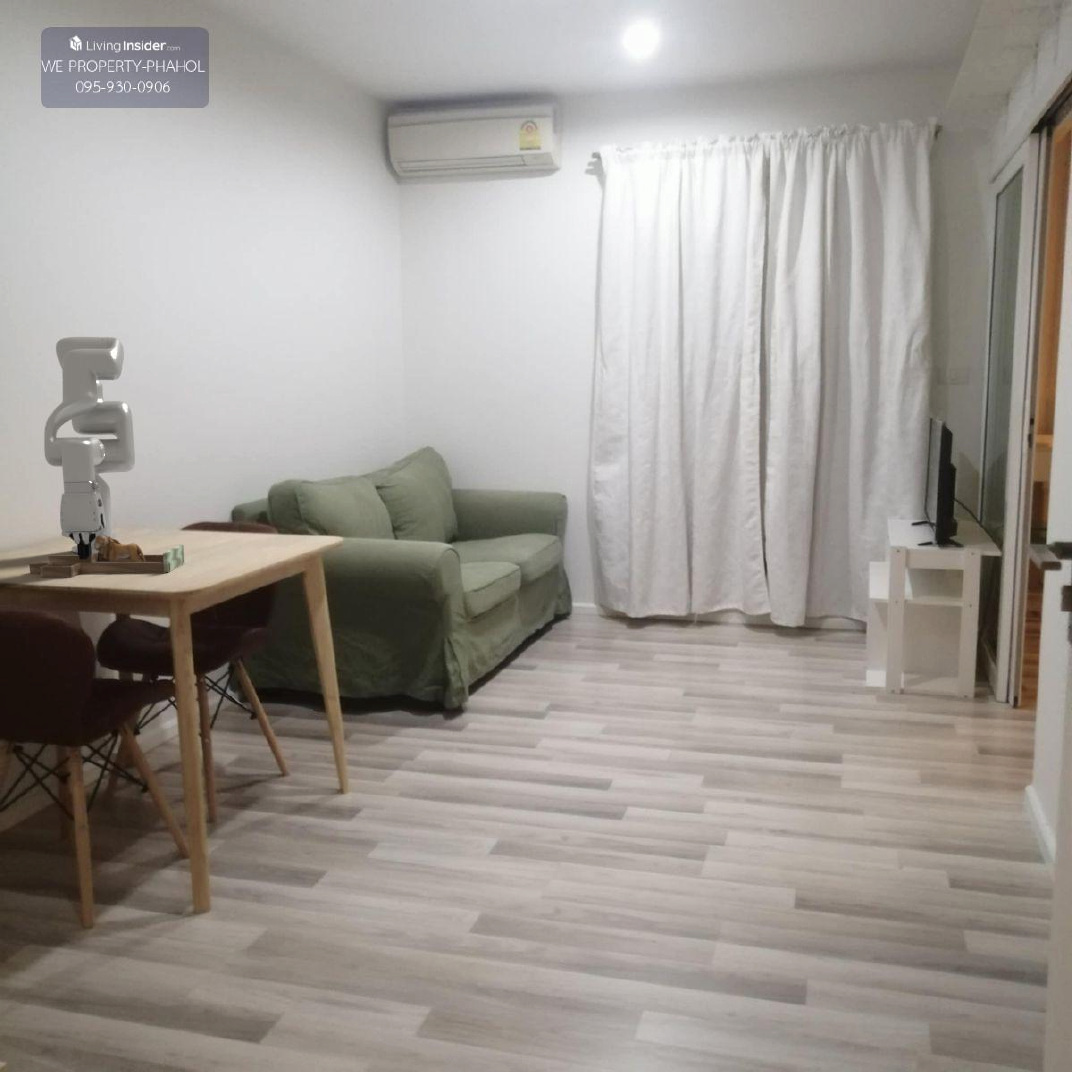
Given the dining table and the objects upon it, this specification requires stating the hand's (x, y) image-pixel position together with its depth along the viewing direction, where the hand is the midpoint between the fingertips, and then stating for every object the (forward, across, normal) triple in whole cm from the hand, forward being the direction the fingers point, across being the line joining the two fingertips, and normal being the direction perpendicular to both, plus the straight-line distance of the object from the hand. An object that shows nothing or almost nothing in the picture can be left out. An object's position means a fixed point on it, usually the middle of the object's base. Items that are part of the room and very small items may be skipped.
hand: (85, 558), depth 268 cm
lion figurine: (+3, -10, +1) cm, 10 cm away
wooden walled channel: (+3, -6, 0) cm, 6 cm away
